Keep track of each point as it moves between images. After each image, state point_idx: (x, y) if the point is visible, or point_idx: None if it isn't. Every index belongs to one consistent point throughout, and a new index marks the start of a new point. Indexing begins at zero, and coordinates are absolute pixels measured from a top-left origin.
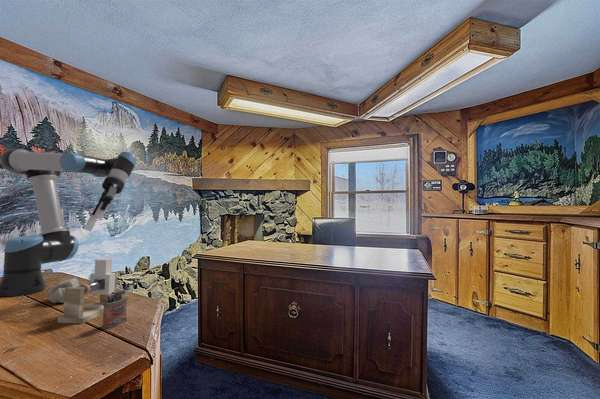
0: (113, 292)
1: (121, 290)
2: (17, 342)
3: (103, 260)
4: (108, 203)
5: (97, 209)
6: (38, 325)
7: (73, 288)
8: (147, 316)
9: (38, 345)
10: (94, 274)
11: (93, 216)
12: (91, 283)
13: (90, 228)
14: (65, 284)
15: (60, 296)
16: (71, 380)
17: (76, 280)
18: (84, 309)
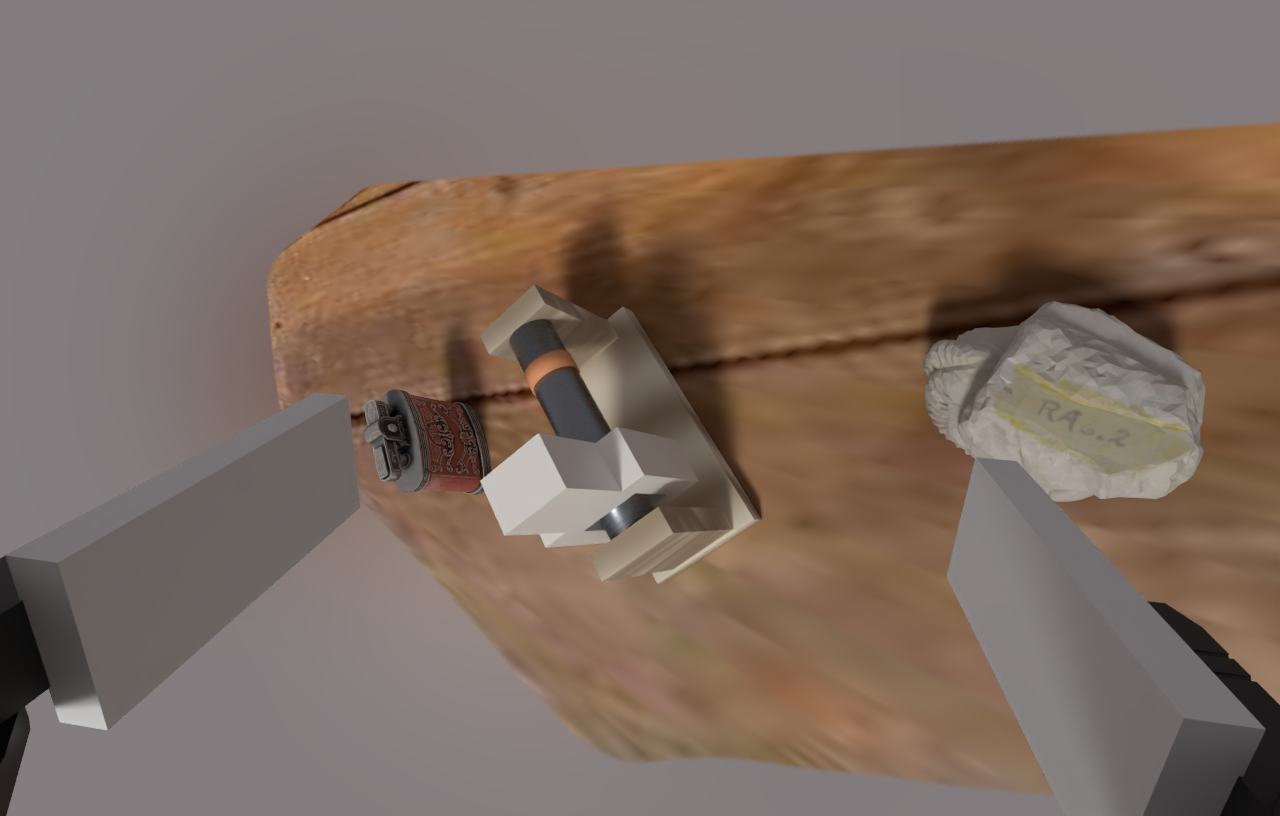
0: (373, 425)
1: (380, 463)
2: (544, 197)
3: (495, 469)
4: (4, 692)
5: (221, 447)
6: (654, 254)
7: (504, 312)
8: (455, 566)
9: (482, 241)
10: (597, 443)
11: (344, 396)
12: (548, 406)
13: (962, 572)
14: (982, 386)
15: (925, 362)
16: (296, 275)
17: (1067, 480)
18: (651, 411)
